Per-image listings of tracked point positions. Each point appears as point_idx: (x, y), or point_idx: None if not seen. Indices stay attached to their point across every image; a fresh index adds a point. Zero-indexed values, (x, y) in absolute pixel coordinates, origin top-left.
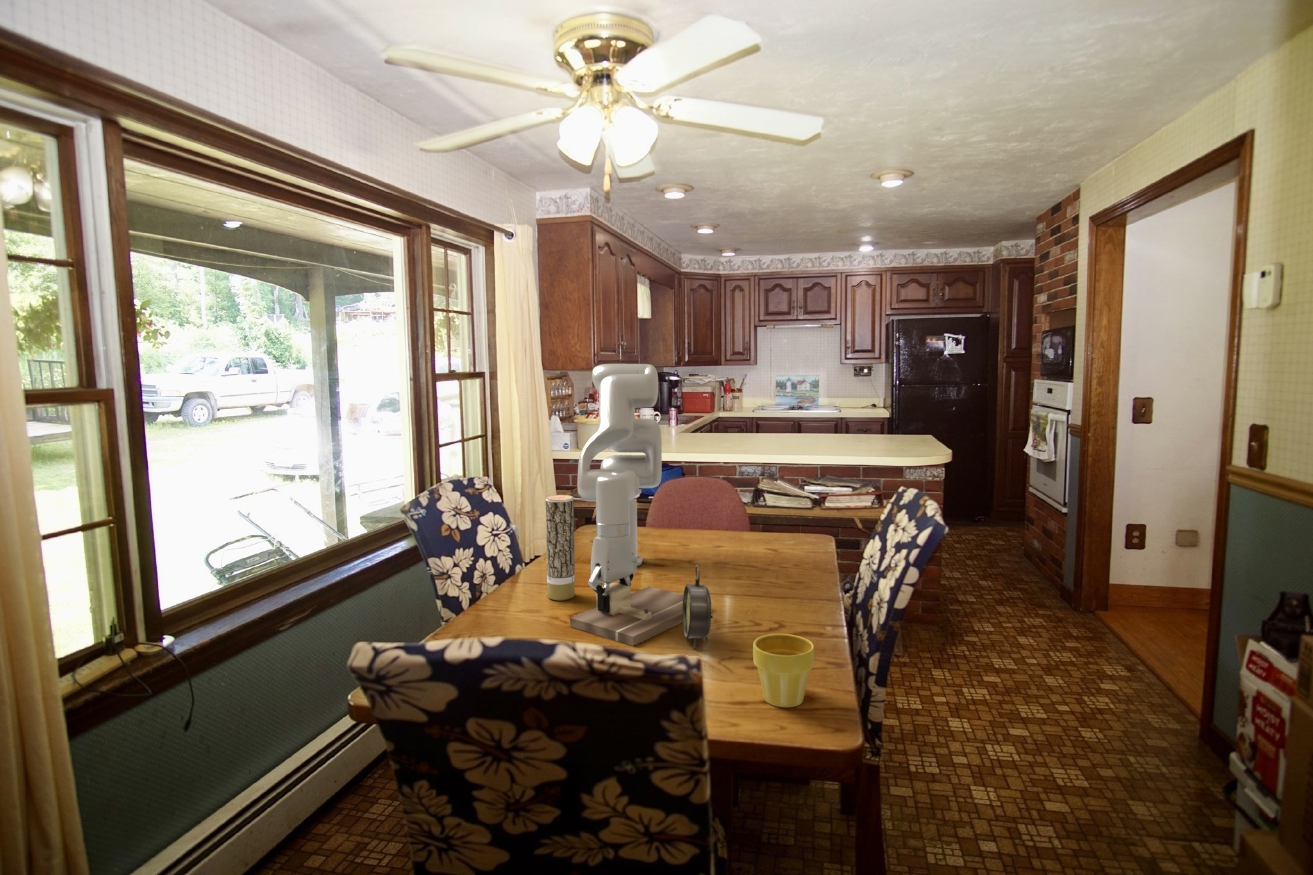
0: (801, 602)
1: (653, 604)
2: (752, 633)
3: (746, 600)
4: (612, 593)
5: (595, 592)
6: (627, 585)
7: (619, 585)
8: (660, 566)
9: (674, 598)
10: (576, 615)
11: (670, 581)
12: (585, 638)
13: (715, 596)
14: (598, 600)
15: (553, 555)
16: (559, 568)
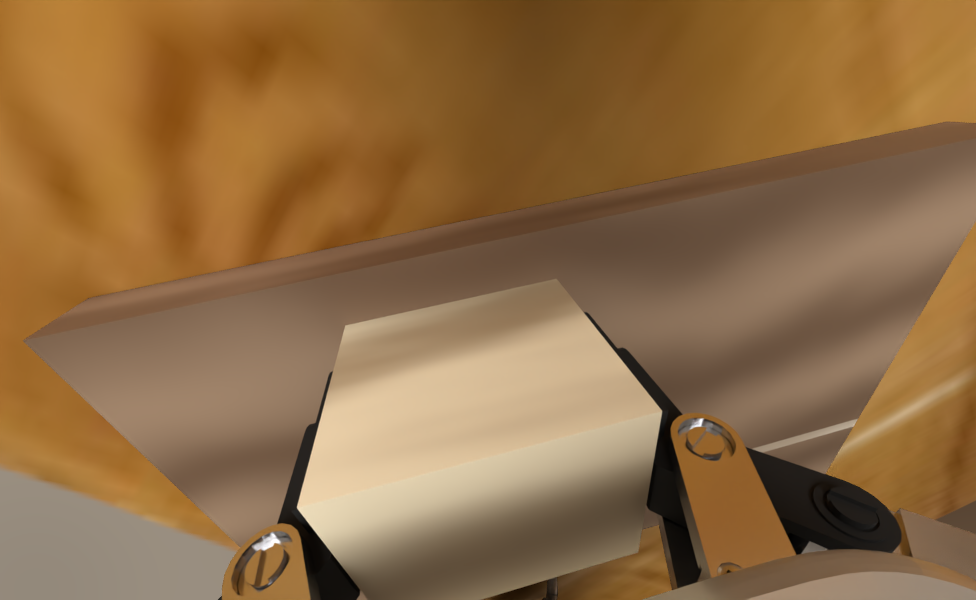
0: (918, 501)
1: (682, 413)
2: (657, 587)
3: (913, 439)
4: None
5: (234, 562)
6: (658, 517)
7: (608, 503)
8: None
9: (810, 398)
10: (111, 328)
11: None
12: (147, 477)
13: (945, 364)
14: (294, 482)
15: None
16: None
